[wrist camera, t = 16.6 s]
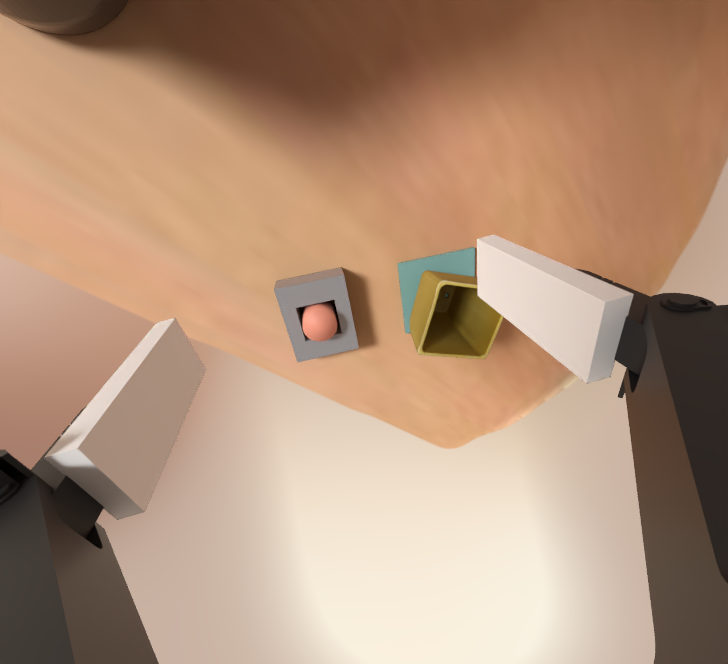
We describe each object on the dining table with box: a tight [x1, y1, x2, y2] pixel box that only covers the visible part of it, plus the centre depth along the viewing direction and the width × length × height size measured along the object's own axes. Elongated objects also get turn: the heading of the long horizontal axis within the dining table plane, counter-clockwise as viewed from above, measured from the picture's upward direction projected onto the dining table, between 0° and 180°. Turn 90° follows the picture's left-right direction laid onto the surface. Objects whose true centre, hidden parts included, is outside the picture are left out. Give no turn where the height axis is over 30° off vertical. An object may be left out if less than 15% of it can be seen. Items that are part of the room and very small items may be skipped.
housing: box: [274, 268, 359, 362], centre depth 39 cm, size 10×8×3 cm
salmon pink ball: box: [303, 301, 337, 342], centre depth 38 cm, size 4×4×4 cm
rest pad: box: [398, 247, 475, 334], centre depth 42 cm, size 10×10×1 cm
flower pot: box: [410, 270, 504, 359], centre depth 37 cm, size 9×9×9 cm
